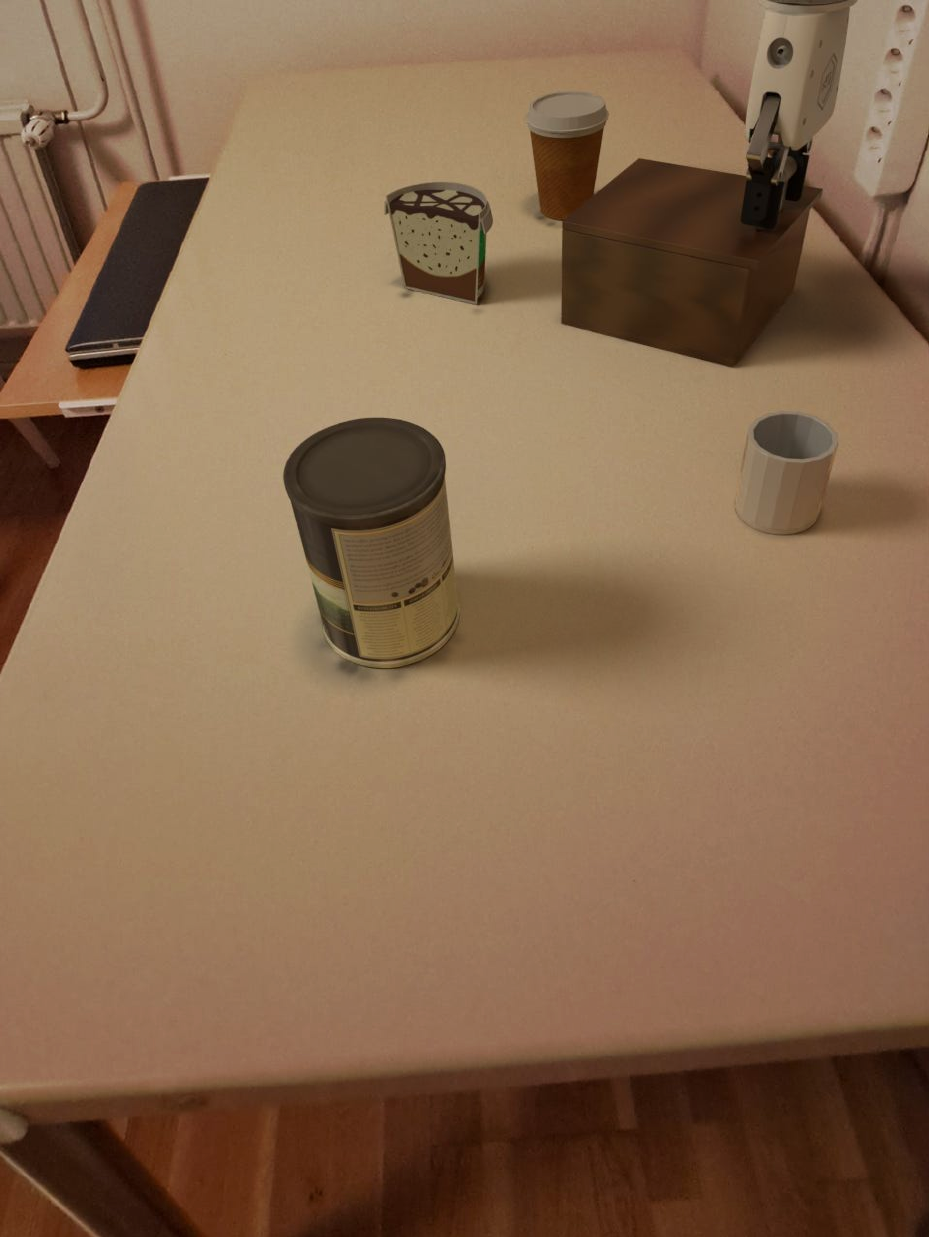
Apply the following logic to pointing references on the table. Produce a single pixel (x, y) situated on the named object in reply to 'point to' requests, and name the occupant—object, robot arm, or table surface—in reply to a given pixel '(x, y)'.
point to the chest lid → (688, 212)
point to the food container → (441, 238)
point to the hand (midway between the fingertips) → (771, 209)
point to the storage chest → (674, 294)
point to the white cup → (785, 471)
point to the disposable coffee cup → (566, 148)
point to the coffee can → (376, 538)
